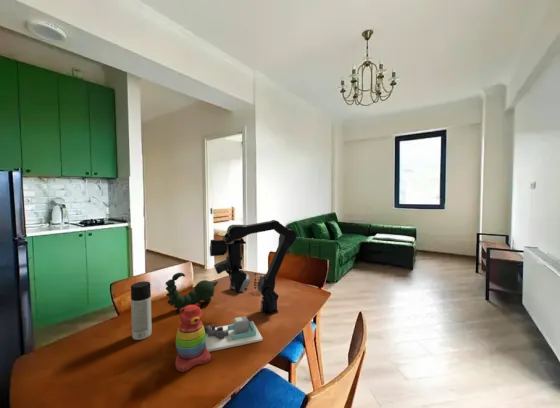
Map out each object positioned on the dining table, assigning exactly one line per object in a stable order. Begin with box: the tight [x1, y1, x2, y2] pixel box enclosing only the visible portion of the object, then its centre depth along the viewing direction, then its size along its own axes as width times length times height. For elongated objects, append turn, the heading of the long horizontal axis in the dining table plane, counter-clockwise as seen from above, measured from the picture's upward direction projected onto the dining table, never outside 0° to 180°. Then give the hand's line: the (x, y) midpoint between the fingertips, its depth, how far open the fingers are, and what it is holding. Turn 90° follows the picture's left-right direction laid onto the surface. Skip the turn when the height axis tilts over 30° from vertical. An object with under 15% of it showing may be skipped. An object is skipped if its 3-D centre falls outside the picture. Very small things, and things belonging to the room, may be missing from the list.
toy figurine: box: [165, 272, 219, 312], centre depth 126 cm, size 9×19×25 cm
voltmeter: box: [229, 272, 277, 293], centre depth 148 cm, size 27×11×10 cm, turn 89°
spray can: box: [130, 281, 152, 341], centre depth 100 cm, size 7×7×20 cm
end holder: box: [227, 320, 256, 340], centre depth 102 cm, size 9×9×2 cm
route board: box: [203, 320, 264, 353], centre depth 101 cm, size 20×14×3 cm
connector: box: [232, 315, 250, 335], centre depth 102 cm, size 5×4×5 cm
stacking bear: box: [175, 303, 212, 373], centre depth 87 cm, size 11×10×18 cm
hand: (234, 289), depth 116 cm, fingers open, 9 cm apart
